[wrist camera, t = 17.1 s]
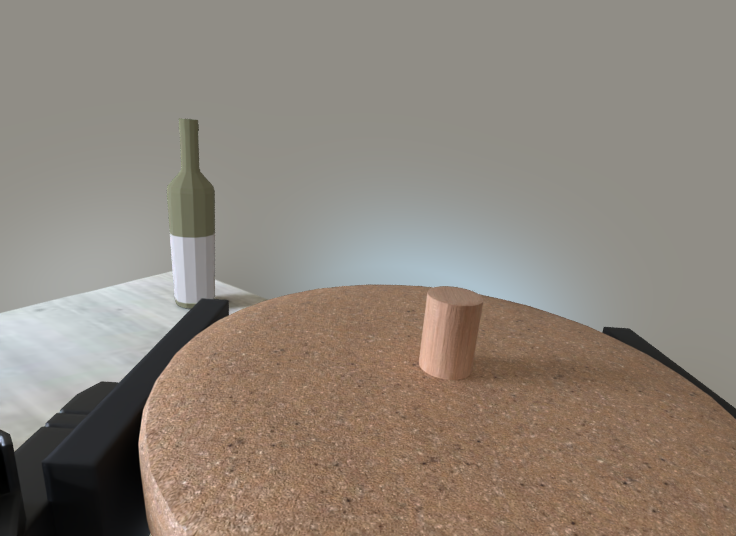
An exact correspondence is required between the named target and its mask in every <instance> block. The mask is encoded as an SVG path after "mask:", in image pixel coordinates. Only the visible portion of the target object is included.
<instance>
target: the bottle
mask: <svg viewBox="0 0 736 536" xmlns="http://www.w3.org/2000/svg"><path fill="white" fill-rule="evenodd" d="M198 128H199V127H198V120H192V119H179V130H180V147H181V171H180V172H179V173H178V175H177V176H176V177H175V178H174V179H173V180H172V181H171V183H170V184H169V185H168V187H167V199H168V212H169V227H170V241H171V253H172V267H173V281H174V294H175V301H176V304H177V305H178V306H180V307H184V308H190V309H192V308H193V307H194V306H195V305H196V304H197V302H198V301H199V300H200V299H201V298H205V299H214V297H215V209H214V208H215V207H214V206H215V198H214V196H215V194H214V192H215V191H214V187H213V186H212V184H211V183H210V182H209V181H208V180H207V179H206V178H205V177H204V175H203V174H202V173H201V172H200V169H199V148H198V131H199V129H198Z"/></svg>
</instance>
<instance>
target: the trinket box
mask: <svg viewBox="0 0 736 536" xmlns="http://www.w3.org/2000/svg"><path fill="white" fill-rule="evenodd" d="M138 444H139V461H140V470H141V479H142V486H143V494H144V501H145V509H146V516H147V522H148V526H149V530H150V533H151V535H152V536H736V419H735V418H734V417H733V416H732V415H730V414H729V413H728V412H727V411H726V410H725V409H724V408H723V407H722V406H721V405H719V404H718V403H717V402H716V401H715V400H714V399H713V398H712V397H711V396H709V395H708V394H706V393H705V392H704V391H702V390H701V389H699V388H698V387H697V386H695V385H694V384H692V383H691V382H690V381H688V380H687V379H685V378H684V377H682V376H681V375H680V374H678V373H676V372H675V371H673V370H672V369H670V368H668V367H667V366H665V365H663V364H662V363H660V362H659V361H657V360H655V359H654V358H652V357H651V356H649V355H647V354H645V353H643V352H641V351H639V350H637V349H635V348H633V347H631V346H629V345H627V344H625V343H623V342H621V341H619V340H617V339H615V338H613V337H610V336H608V335H606V334H604V333H601V332H599V331H597V330H595V329H593V328H590V327H588V326H586V325H583V324H580V323H577V322H575V321H572V320H569V319H566V318H564V317H561V316H558V315H555V314H552V313H549V312H546V311H543V310H540V309H537V308H533V307H531V306H527V305H523V304H519V303H515V302H511V301H506V300H503V299H498V298H494V297H489V296H484V295H480V294H477V293H475V292H473V291H470V290H467V289H463V288H458V287H449V286H440V287H434V288H432V287H423V286H406V285H355V286H342V287H332V288H322V289H315V290H309V291H304V292H299V293H294V294H289V295H286V296H281V297H277V298H274V299H270V300H266V301H263V302H260V303H258V304H255V305H252V306H250V307H247V308H244V309H242V310H239V311H237V312H235V313H233V314H231V315H229V316H227V317H225V318H223V319H220V320H218V321H217V322H215V323H214V324H212V325H211V326H209V327H208V328H206V329H205V330H203V331H202V332H200V333H199V334H198V335H196V336H195V337H194V338H193V339H192V340H190V341H189V342H188V343H187V344H186V345H185V346H184V347H182V348H181V349H180V350H179V351H178V352H177V353H176V354H175V355H174V357H173V358H172V360H171V361H170V363H169V364H168V365H167V367H166V368H165V369H164V371H163V372H162V373H161V375H160V376H159V377H158V379H157V380H156V382H155V384H154V386H153V388H152V391H151V393H150V395H149V398H148V400H147V402H146V405H145V407H144V409H143V415H142V422H141V429H140V436H139V443H138Z"/></svg>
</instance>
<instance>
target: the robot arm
mask: <svg viewBox="0 0 736 536" xmlns="http://www.w3.org/2000/svg"><path fill="white" fill-rule="evenodd" d="M227 316H229V300H219V299H205V298H201V299H200V300H199V301H198V302H197V304H196V305H195V306H194V307H193V308H192V309H191V310H190V311H189V312H188V313H187V314H186V315H185V316H184V317H183V318H182V319H181V320H180V321H179V322H178V323H177V324H176V325H175V326H174V327H173V328H172V329H171V330H170V331H169V332H168V333H167V334H166V335H165V336H164V337H163V338H162V339H161V340H160V341H159V342H158V343H157V345H156V346H155V347H154V348H153V349H152V350H151V351H150V352H149V353H148V354H147V355H146V356H145V357H144V358H143V359H142V360H141V361H140V362H139V363H138V364H137V365H136V366H135V367H134V368H133V369H132V370H131V371H130V372H129V373H128V374H127V375H126V376H125V377H124V378H123V379H122V380H121V381H120V382H119V383H116V382H100V383H98V384H96V385H94V386H92V387H90V388H88V389H86V390H84V391H83V392H81V393H79V394H77V395H76V396H75V397H74V398H73V399H72V400H71V401H69V402H68V403H67V404H66V405H65V406H64V407H63V408H62V409H61V410H60V413H56V414H55V415H54V416H53V417H52V418H51V419H50V420H49V421H48V422H47V423H46V425H45V427H41V428H40V429H39V430H38V431H37V432H36V433H34V434H33V435H32V436H31V437H30V438H29V439H28V440H27V441H26V442H25V443H24V444H22V445H21V446H20V447H19V448H18V449H17V450H16V451H15V452H14V448H13V443H12V440H11V437H10V434H8V433H6V432H4V431H2V430H0V536H149V535H150V530H149V526H148V522H147V516H146V509H145V501H144V494H143V486H142V479H141V470H140V461H139V444H138V443H139V436H140V429H141V422H142V415H143V409H144V407H145V405H146V402H147V400H148V398H149V395H150V393H151V391H152V388H153V386H154V384H155V382H156V380H157V379H158V377H159V376H160V375H161V373H162V372H163V371H164V369H165V368H166V367H167V365H168V364H169V363H170V361H171V360H172V358H173V357H174V355H175V354H176V353H177V352H178V351H179V350H180V349H181V348H182V347H184V346H185V345H186V344H187V343H188V342H189V341H190V340H192V339H193V338H194V337H195V336H196V335H198V334H199V333H200V332H202V331H203V330H205V329H206V328H208V327H209V326H211V325H212V324H214V323H215V322H217V321H218V320H220V319H223V318H225V317H227ZM602 333H604V334H606V335H608V336H610V337H613V338H615V339H617V340H619V341H621V342H623V343H625V344H627V345H629V346H631V347H633V348H635V349H637V350H639V351H641V352H643V353H645V354H647V355H649V356H651V357H652V358H654V359H655V360H657V361H659V362H660V363H662V364H663V365H665V366H667V367H668V368H670V369H672V370H673V371H675V372H676V373H678V374H680V375H681V376H682V377H684V378H685V379H687V380H688V381H690V382H691V383H692V384H694V385H695V386H697V387H698V388H699V389H701V390H702V391H704V392H705V393H706V394H708V395H709V396H711V397H712V398H713V399H714V400H715V401H716V402H717V403H718V404H719V405H721V406H722V407H723V408H724V409H725V410H726V411H727V412H728V413H729V414H730V415H732V416H733V417H734V418H735V419H736V409H735V408H734V407H733V406H732V405H730V404H729V403H728V402H726V401H725V400H724V399H722V398H720V397H719V396H718V395H717V394H716V393H714V392H713V391H712V390H710V389H709V388H707V387H706V386H705V385H704V384H702V383H701V382H700V381H698V380H697V379H696V378H694V377H693V376H692V375H690V374H689V373H688V372H686V371H685V370H684V369H682V368H681V367H680V366H678V365H677V364H676V363H674V362H673V361H672V360H670V359H669V358H668V357H666V356H665V355H664V354H662V353H661V352H660V351H659V350H657V349H656V348H655V347H653V346H652V345H650V344H649V343H648V342H647V341H645V340H644V339H643V338H641V337H640V336H639V335H637V334H636V333H635V332H633V331H632V330H631V329H626V328H613V327H612V328H611V327H604V328H603V332H602Z"/></svg>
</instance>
